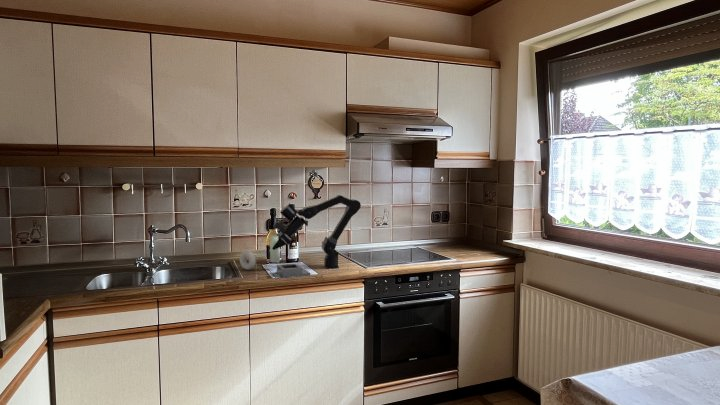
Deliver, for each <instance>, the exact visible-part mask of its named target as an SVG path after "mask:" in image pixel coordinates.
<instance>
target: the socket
mask: <svg viewBox="0 0 720 405" xmlns="http://www.w3.org/2000/svg"><path fill="white" fill-rule="evenodd" d="M275 273H276V274H277V273H278V274H277V275H279V276H280V278H282V279H283V277H285V278H293V277H292V276H296V277H304V276H305V277H306V276H311V272H309V271H308V270H306V269H305V268H304V267H302V266H301V265H300V264H298V263H287V264H277V265H276V272H275Z"/></svg>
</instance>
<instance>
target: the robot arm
mask: <svg viewBox="0 0 720 405" xmlns="http://www.w3.org/2000/svg"><path fill="white" fill-rule="evenodd" d="M339 204H341V205H344V206H345V210H344V213H343V214H342V216H341V218H340V219H339V221H338V222H337V225H336V226H335V228H334V229H333V231H332V233H331V234H330V236H328V237H327V236H325V237H324V240H322V242H321V250H322V251H323V252H324V253H325V255H324V260H323V267H324V268H327V269H339V268H340V266H339V255H340V254H339V252H338V251H337V249H336V248H337V243H338V240H339V239H340V237H341V235H342V234H343V231H344V230H345V229H346V227H347V225H348V224H349V222H350V220H351V218H352V217H353V216H354V215H356V214H357V212H359V210H360V209H361V207H362V205H361V202H360V201H359V200H357V199H350V198H347V197H345V196H343V195H341V194H338V195H336V196H333V197H332V198H329V199H327V200H325V201H322V202H320V203H317V204H313V205H307V206H305V207H302V209H301V208H300V209H296V208H294V207H293V205H292V204H291V203H288V204H287V205H286V206H284V207H283V208H282V209H281V210H280V211H279V212H280V213H279V214H280V215H282V216H283V217H284V218H285V219H286V220H287V221H289V220H290V222H289V223H286V224H285V223H284V222H283V221H278V220H275V221H274V224H273V228H275V229H278V230H277V231H276V232H277V233H276V235H278V241H277V242H276V244H275V245H274V246H273V248H272V249H273V250H275V249H277V248H279V247H280V248H283V247H284V246H287V245H288V246H289V245H290V244H292V240H293V239H292V237H293V236H294V235H295V234H297V233H298V231H299V230H300V229H301V228H302V227H303V225H305V226H306V227H308V226H309V220H310V219H312V218H314V217H315V216H317V215H318V214H319V213H321V212H322V211H325V210H327V209H330V208H332V207H334V206H337V205H339ZM279 235H280V236H279Z"/></svg>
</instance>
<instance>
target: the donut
mask: <svg viewBox="0 0 720 405" xmlns="http://www.w3.org/2000/svg"><path fill="white" fill-rule="evenodd" d="M247 259H248V261H247ZM256 263H257V261H256V257H255V254H254V252H252V251H251V250H244V251H242V252H241V253H240V256H239V264H240V266H241V267H242V268H243V269H244V270H246V271H250V270H252V269H253V268H254V267H255V266H256Z"/></svg>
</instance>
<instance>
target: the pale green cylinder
mask: <svg viewBox="0 0 720 405" xmlns="http://www.w3.org/2000/svg"><path fill="white" fill-rule="evenodd" d="M279 236H280V235H279ZM277 241H278V235H277V234H271V235H269V255H270V256H269V261H270V262H272V263H278V262H281V247H279V248H277V249H275V250H273V249H272V248H273V246H274V245H275V244H276V242H277Z"/></svg>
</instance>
